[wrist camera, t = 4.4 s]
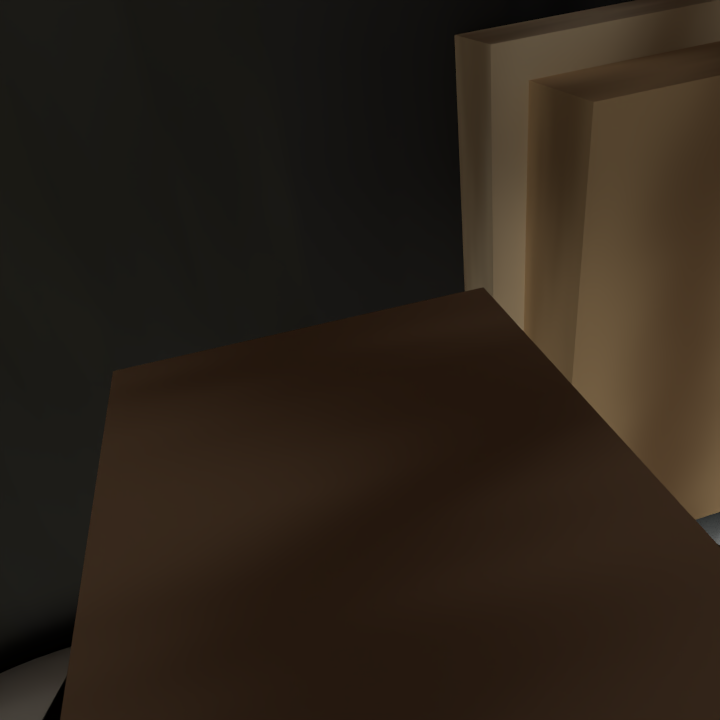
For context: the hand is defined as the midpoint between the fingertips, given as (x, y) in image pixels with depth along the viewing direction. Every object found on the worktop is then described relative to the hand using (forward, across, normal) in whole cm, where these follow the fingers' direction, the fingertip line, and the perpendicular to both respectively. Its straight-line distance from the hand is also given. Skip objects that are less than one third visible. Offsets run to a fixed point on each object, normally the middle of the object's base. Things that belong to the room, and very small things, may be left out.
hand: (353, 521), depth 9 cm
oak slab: (+10, -12, +5) cm, 16 cm away
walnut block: (+1, 0, 0) cm, 1 cm away
